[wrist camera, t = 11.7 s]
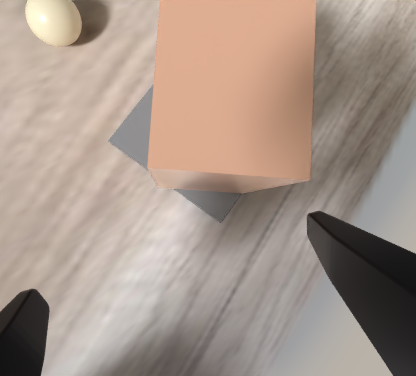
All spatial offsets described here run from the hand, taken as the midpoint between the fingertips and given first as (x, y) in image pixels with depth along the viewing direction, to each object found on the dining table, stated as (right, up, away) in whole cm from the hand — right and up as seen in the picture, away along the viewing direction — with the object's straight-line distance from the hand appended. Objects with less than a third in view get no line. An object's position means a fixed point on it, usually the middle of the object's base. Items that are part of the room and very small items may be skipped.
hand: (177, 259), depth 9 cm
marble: (-8, +12, +10) cm, 18 cm away
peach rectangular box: (+1, +6, +10) cm, 12 cm away
